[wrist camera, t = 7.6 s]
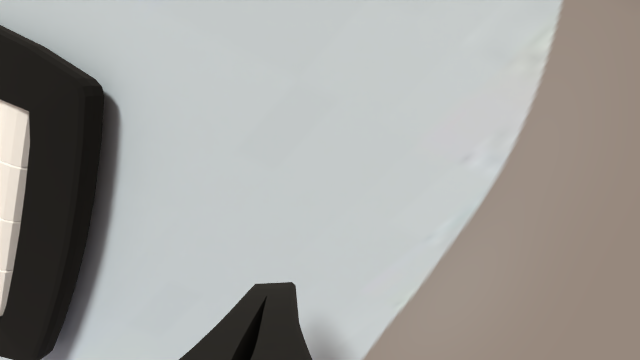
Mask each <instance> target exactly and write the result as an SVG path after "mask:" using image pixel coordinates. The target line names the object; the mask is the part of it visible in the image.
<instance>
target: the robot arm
mask: <svg viewBox="0 0 640 360" xmlns="http://www.w3.org/2000/svg"><path fill="white" fill-rule="evenodd" d="M179 360H312V358H311V355H310V353H309V350H308V348H307V345H306V343H305V340H304V337H303V334H302V331H301V328H300V324H299V318H298V308H297V297H296V286H295V285H294V284H293V283H292V282H287V283H267V284H255V285H254V286H253V287H252V288H251V289H250V290H249V291H248V292H247V293H246V294H245V296H244V297H243V298H242V299H241V300H240V301H239V302H238V303H237V304H236V305H235V307H234V308H233V309H232V310H231V311H230V312H229V313H228V314H227V315H226V316H225V317H224V318H223V319H222V320H221V321H220V322H219V323H218V324H217V325H216V326H215V327H214V328H213V329H212V330H211V331H210V332H209V333H208V334H207V335H206V336H205V337H204V338H203V339H202V340H201V341H200V342H199V343H198V344H196V345H195V346H194V347H193V348H192V349H191V350H190V351H189V352H187V353H186V354H185V355H184V356H183V357H182V358H180V359H179Z"/></svg>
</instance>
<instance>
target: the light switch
mask: <svg viewBox="0 0 640 360" xmlns="http://www.w3.org/2000/svg"><path fill="white" fill-rule="evenodd" d="M103 104H104V94H103V89H102V86H101V85H100V84H99V83H98V82H97V81H96V79H94V78H92V77H91V76H89V75H88V74H86V73H85V72H83V71H82V70H80V69H78V68H77V67H75V66H74V65H72V64H71V63H69V62H67V61H66V60H64V59H63V58H61V57H60V56H58V55H56V54H55V53H53V52H52V51H50V50H49V49H47V48H45V47H44V46H42V45H40V44H38V43H35V42H33V41H31V40H29V39H27V38H25V37H23V36H21V35H19V34H17V33H15V32H13V31H11V30H9V29H7V28H5V27H3V26H1V25H0V356H1V357H5V358H9V359H13V360H40V359H42V358H43V357H45V356H46V355H47V354H49V353H50V352H51V351H52V350H53V348H54V345H55V342H56V340H57V337H58V335H59V332H60V330H61V327H62V325H63V322H64V320H65V316H66V313H67V310H68V307H69V304H70V300H71V297H72V294H73V291H74V288H75V284H76V281H77V277H78V273H79V269H80V265H81V261H82V257H83V253H84V249H85V245H86V240H87V235H88V229H89V224H90V218H91V213H92V207H93V202H94V195H95V187H96V179H97V171H98V163H99V155H100V147H101V134H102V119H103Z"/></svg>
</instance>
